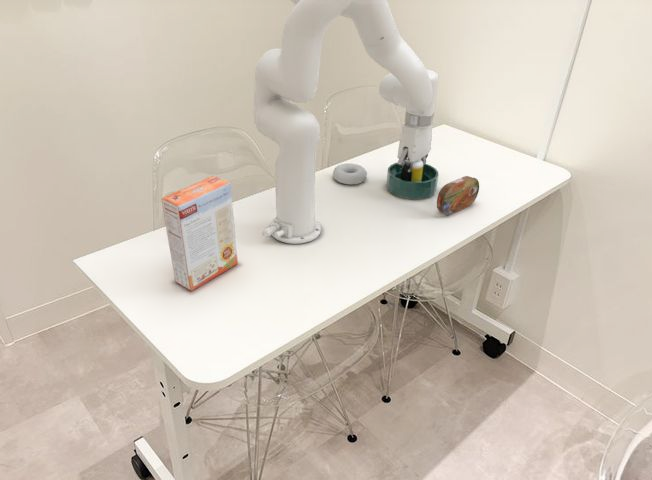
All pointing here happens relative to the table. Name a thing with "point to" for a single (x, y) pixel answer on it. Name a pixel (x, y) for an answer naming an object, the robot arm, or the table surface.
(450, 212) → the tin
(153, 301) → the table surface
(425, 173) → the teal round bowl
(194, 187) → the cracker box
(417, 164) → the supplement bottle
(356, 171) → the donut
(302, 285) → the table surface
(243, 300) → the table surface
